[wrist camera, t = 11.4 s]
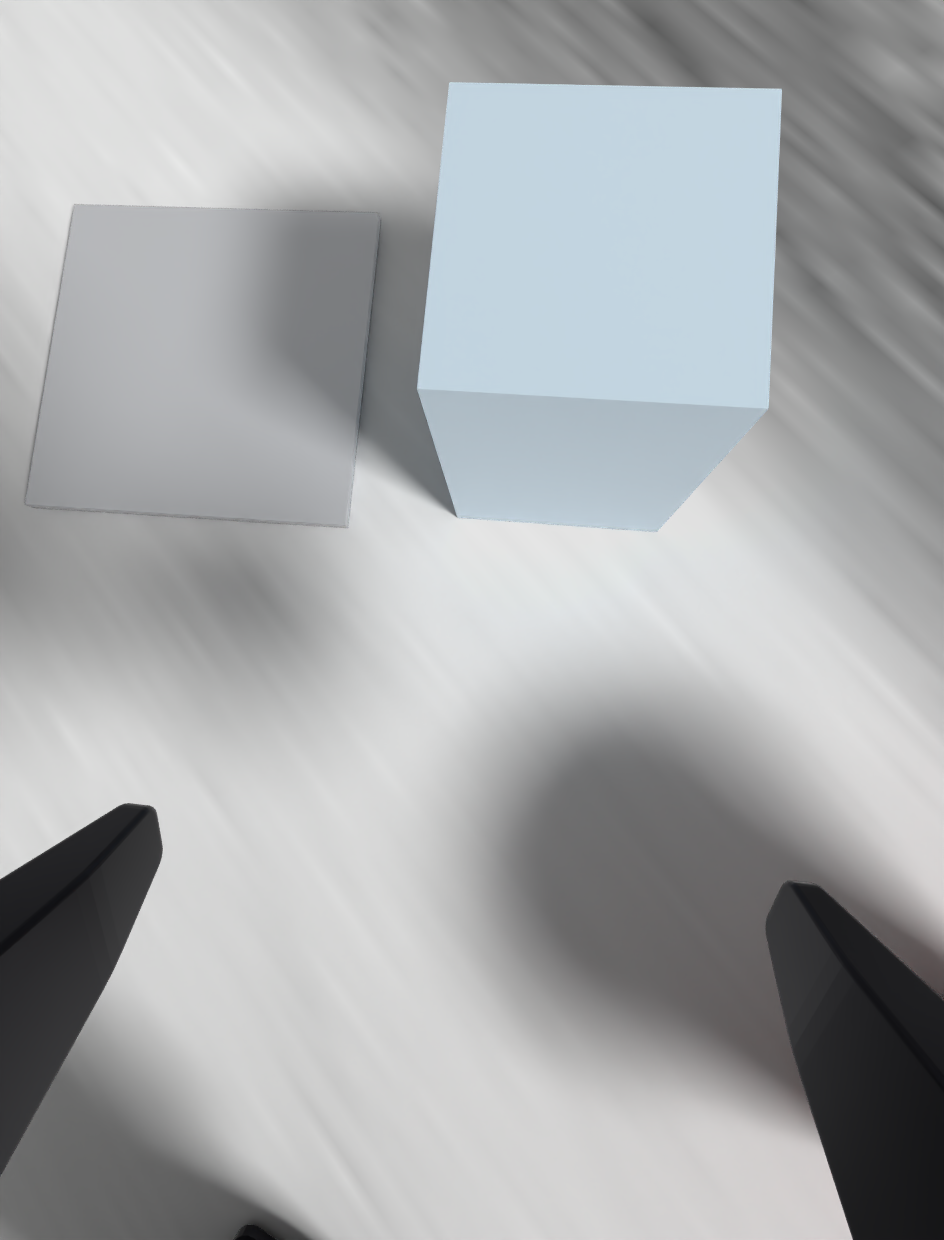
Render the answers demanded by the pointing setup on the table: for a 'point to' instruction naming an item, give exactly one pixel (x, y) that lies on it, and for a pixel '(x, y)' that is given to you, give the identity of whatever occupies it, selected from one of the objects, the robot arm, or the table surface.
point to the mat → (207, 364)
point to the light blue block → (598, 296)
